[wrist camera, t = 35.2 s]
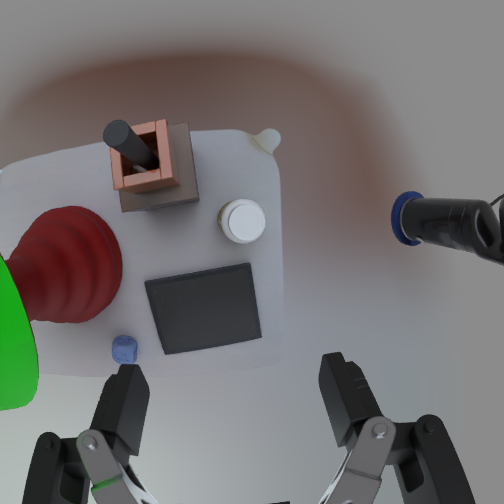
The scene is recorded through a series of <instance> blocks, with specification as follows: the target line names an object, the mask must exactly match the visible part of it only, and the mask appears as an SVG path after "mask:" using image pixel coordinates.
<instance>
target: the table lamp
mask: <svg viewBox="0 0 504 504" xmlns="http://www.w3.org/2000/svg"><path fill="white" fill-rule="evenodd" d="M121 277H122V260H121V253H120V250H119V246H118V242H117V240H116V238H115V236H114V234H113V232H112V230H111V229H110V228H109V226H108V225H107V224H106V222H105V221H104V220H102V219H101V218H100V217H99V216H98V215H97V214H95V213H94V212H92V211H90V210H89V209H86V208H83V207H80V206H67V207H62V208H56V209H51V210H49V211H47V212H44V213H43V214H42V215H40V216H39V217H38V218H37V219H36V220H35V221H34V222H33V224H32V225H31V226H30V228H29V229H28V230H27V231H26V232H25V234H24V235H23V236H22V237H21V239H20V241H19V244H18V246H17V247H16V248H15V249H14V251H13V252H12V254H11V256H10V258H9V259H8V260H6V261H4V259H3V257H2V255H1V254H0V411H2V410H8V409H14V408H19V407H22V406H25V405H27V404H28V403H29V402H30V401H31V400H32V399H33V397H34V395H35V393H36V390H37V385H38V378H39V368H38V354H37V349H36V344H35V338H34V334H33V331H32V327H31V324H30V322H31V321H32V320H38V321H47V320H48V321H51V322H55V323H66V322H68V323H81V322H85V321H88V320H90V319H92V318H94V317H95V316H96V315H97V314H98V313H100V312H101V311H102V310H103V309H104V308H106V307H107V306H108V305H109V304H110V303H111V301H112V300H113V298H114V297H115V295H116V293H117V291H118V288H119V286H120V282H121Z"/></svg>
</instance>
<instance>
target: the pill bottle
mask: <svg viewBox="0 0 504 504" xmlns="http://www.w3.org/2000/svg"><path fill="white" fill-rule="evenodd" d="M218 224H219V227H220V229H221V231H222V232H223V233H224V234H225V235H226V236H227V237H228V238H229V239H230V240H232V241H234V242H236V243H241V244H246V243H250V242H253V241H255V240H256V239H258V238H259V237H260V236H261V234H262V233H263V231H264V229H265V225H266V218H265V214H264V211H263V210H262V208H261V207H260V206H259V205H258V204H257V203H256V202H254V201H252V200H249V199H238V200H234V201H231V202H228V203H227V204H225V205H224V206H223V207H222V209H221V210H220V212H219V215H218Z"/></svg>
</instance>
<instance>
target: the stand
mask: <svg viewBox="0 0 504 504" xmlns="http://www.w3.org/2000/svg"><path fill="white" fill-rule="evenodd" d="M169 128H170V130H171V133H172V135H173V138H174V143H175V151H176V159H177V167H178V174H179V181H180V184H179V185H174V186H169V187H164V188H159V189H154V190H149V191H144V192H140V193H135V194H134V193H129V192H124V191H119V195H120V202H121V209H122V212H133V211H146V210H151V209H156V208H161V207H166V206H171V205H177V204H182V203H188V202H193V201H199V194H198V187H197V180H196V174H195V166H194V159H193V152H192V145H191V138H190V132H189V126H188V122H184V123H178V124H173V125H169Z"/></svg>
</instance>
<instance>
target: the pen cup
mask: <svg viewBox="0 0 504 504" xmlns="http://www.w3.org/2000/svg"><path fill="white" fill-rule="evenodd" d="M131 129H132V130H133V131H134V132H135V133H136V134H137V135H138V136H139V137H140V139H141V140H142V141H143V142H144V143H145V144H146V145H147V146H148V147H149V149H150V150H151V151H152V152H153V153H154V154H155V155H156V156H157V158H158V159H159V167H158V169H154V170H150V171H147V170H145V169H144V168H142V167H141V166H139V165H138V164H136V163H135V162H133V161H132V160H130V159H128V158H127V157H125V156H124V155H122V154H121V153H119V152H118V151H116V150H115V149H113V148H111V147H110V157H111V167H112V177H113V185H114V190H118V191H124V192H129V193H134V194H135V193H140V192H144V191H149V190H154V189H159V188H164V187H169V186H174V185H179V184H180V181H179V174H178V167H177V159H176V151H175V143H174V138H173V135H172V133H171V130H170V128H169V125H168V123H167V120H166V119H163V120H158V121H153V122H149V123H144V124H139V125H135V126H131Z"/></svg>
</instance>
